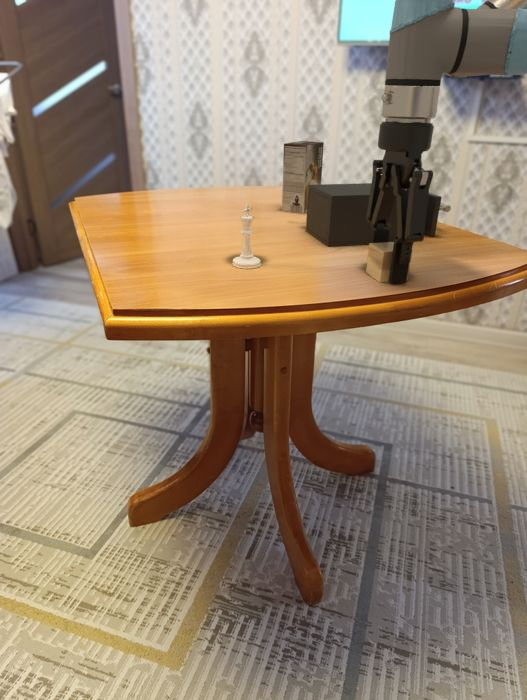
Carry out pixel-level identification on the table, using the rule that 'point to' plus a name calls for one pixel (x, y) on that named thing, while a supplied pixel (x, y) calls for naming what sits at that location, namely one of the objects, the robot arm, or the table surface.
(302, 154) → the coffee box
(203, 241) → the table surface
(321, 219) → the cabinet
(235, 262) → the chess piece
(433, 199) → the drawer
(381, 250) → the block
